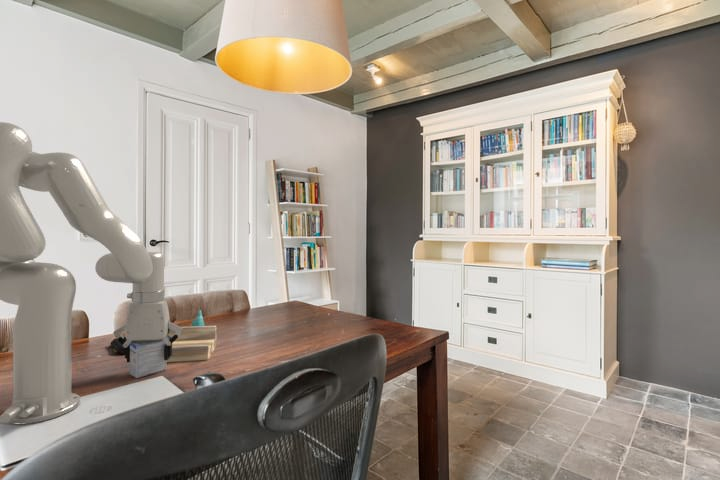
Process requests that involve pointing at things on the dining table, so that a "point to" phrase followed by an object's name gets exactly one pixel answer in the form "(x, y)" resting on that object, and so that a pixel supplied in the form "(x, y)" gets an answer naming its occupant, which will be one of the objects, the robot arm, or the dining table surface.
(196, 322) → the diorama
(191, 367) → the dining table surface
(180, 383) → the dining table surface
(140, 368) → the medicine box
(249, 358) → the dining table surface
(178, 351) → the stepped wooden block
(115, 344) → the carrying case or bag
